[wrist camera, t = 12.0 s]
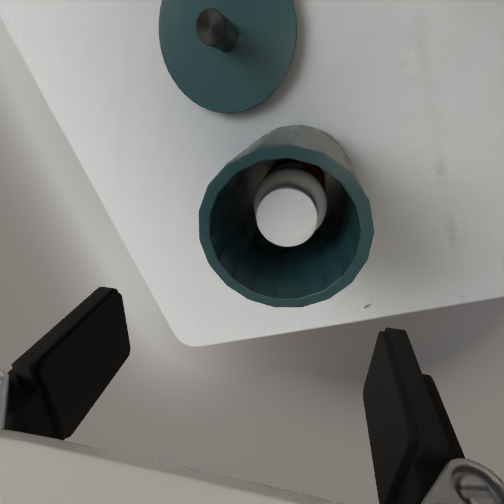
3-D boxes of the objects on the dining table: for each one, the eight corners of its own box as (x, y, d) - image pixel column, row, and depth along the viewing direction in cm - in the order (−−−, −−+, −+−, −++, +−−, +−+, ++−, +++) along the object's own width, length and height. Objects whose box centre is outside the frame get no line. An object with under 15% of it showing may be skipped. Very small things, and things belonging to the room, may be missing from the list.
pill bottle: (326, 209, 35) (329, 254, 25) (269, 213, 36) (252, 257, 26) (323, 149, 32) (326, 173, 22) (263, 156, 33) (240, 181, 24)
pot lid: (139, 44, 31) (105, 35, 26) (220, -94, 26) (197, -139, 21) (234, 139, 34) (219, 147, 29) (327, 30, 28) (329, 17, 23)
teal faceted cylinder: (220, 183, 36) (166, 232, 23) (297, 97, 31) (283, 99, 18) (292, 252, 38) (280, 333, 25) (376, 183, 33) (413, 239, 20)
